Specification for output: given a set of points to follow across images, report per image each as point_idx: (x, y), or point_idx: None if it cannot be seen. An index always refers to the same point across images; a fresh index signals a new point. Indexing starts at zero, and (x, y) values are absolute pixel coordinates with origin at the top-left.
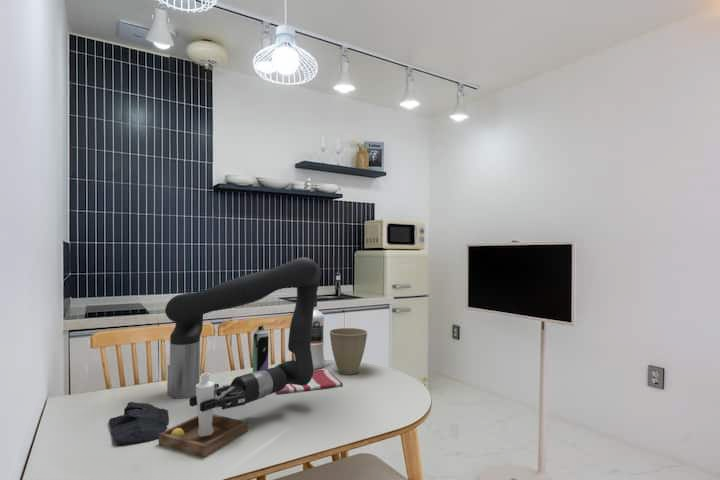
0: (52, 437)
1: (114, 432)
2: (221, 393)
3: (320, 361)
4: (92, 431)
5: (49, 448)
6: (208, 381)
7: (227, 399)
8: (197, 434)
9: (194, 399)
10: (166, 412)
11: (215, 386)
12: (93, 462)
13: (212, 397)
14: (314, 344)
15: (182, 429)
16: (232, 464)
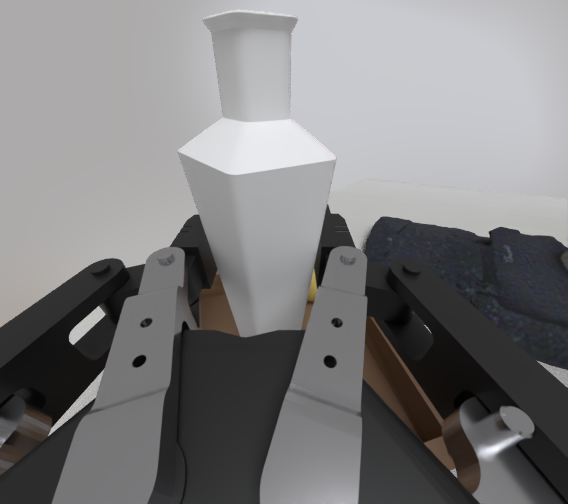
0: (486, 198)
1: (438, 226)
2: (175, 287)
3: None
4: (498, 227)
5: (436, 192)
6: (230, 118)
7: (66, 285)
8: None
9: None
10: None
11: (506, 403)
12: (343, 207)
13: (222, 254)
14: None
15: (314, 283)
16: (73, 334)
